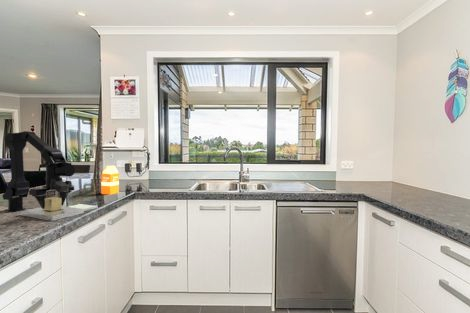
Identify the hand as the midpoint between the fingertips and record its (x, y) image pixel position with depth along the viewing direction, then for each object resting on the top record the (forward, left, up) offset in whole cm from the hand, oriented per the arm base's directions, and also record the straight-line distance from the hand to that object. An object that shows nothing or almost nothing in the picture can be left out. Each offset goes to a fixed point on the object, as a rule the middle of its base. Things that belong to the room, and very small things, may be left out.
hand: (53, 207), depth 130 cm
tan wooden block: (0, 0, -4) cm, 4 cm away
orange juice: (-23, +57, -4) cm, 62 cm away
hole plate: (0, 0, -4) cm, 4 cm away
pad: (+1, +14, -4) cm, 14 cm away
